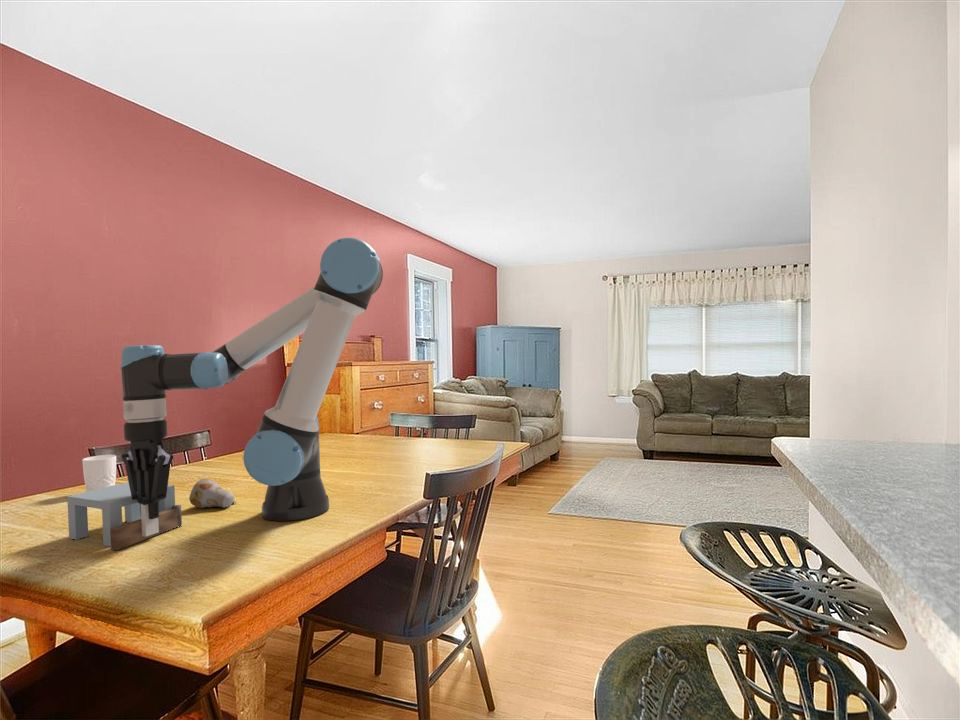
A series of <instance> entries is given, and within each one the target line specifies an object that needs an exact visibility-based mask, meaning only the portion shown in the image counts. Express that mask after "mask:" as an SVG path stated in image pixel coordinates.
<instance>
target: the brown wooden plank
mask: <svg viewBox="0 0 960 720" xmlns="http://www.w3.org/2000/svg"><path fill="white" fill-rule="evenodd" d="M182 519H183V518H182V504H175V505H174V506H172V508H171V509H168V510H165V511H162V512H159V517H158V523H159V532H158V533H155V534H152V535H149V536H142V523H141V519H138V520H135V521H132V522H129V523H128V522H126V523H124V524H122V525H121V526H118V527H115V528H112V529H110V537H111V547H110V550H114V551H119V550H122V549H125V548H127V547H129V546H131V545H134V544H137V543H139V542H142V541H145V540H148V539H151V538H153V537H156V536H157V535H161V534H163V532H164V533H166V532H169V531H171V530H174V529H177V528H176V527H178V526H181V525H182ZM181 527H182V526H181ZM173 528H174V529H173ZM168 530H169V531H168ZM165 531H166V532H165ZM160 533H161V534H160Z"/></svg>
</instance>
